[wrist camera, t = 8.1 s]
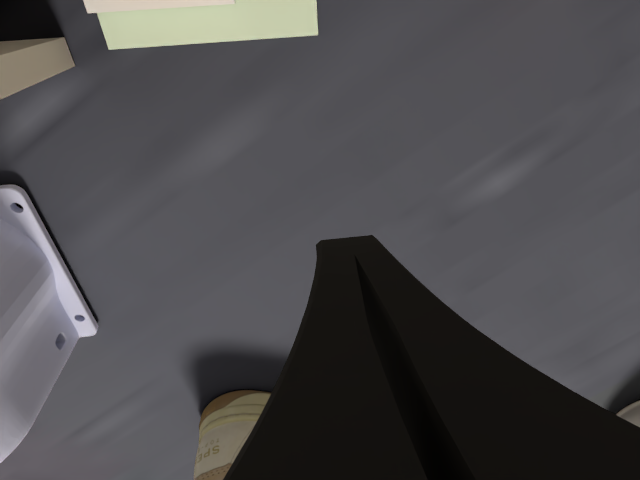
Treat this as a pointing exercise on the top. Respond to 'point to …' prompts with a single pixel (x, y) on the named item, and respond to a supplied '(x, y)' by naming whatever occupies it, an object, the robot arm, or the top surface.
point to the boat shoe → (226, 431)
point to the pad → (209, 23)
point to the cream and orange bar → (146, 4)
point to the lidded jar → (631, 413)
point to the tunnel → (31, 62)
